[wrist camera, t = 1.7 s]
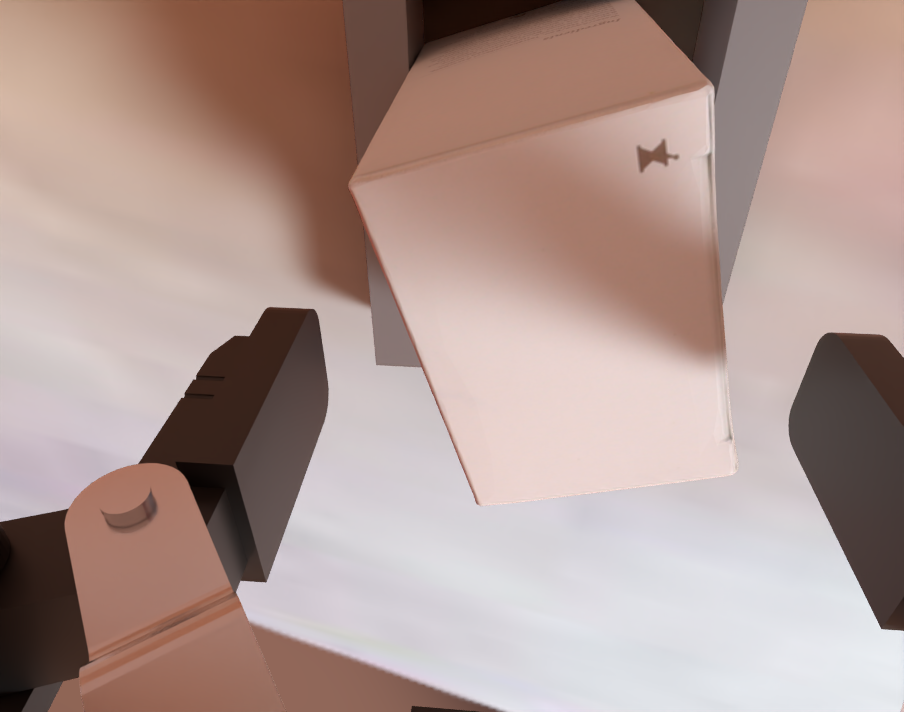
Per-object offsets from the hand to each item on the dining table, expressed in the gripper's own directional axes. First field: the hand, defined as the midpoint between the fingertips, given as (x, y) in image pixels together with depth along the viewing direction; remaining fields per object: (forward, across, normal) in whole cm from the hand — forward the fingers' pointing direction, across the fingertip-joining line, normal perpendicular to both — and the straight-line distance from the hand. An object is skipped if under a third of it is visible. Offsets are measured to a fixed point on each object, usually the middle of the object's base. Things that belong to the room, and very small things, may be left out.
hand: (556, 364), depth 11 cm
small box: (+12, 0, 0) cm, 12 cm away
